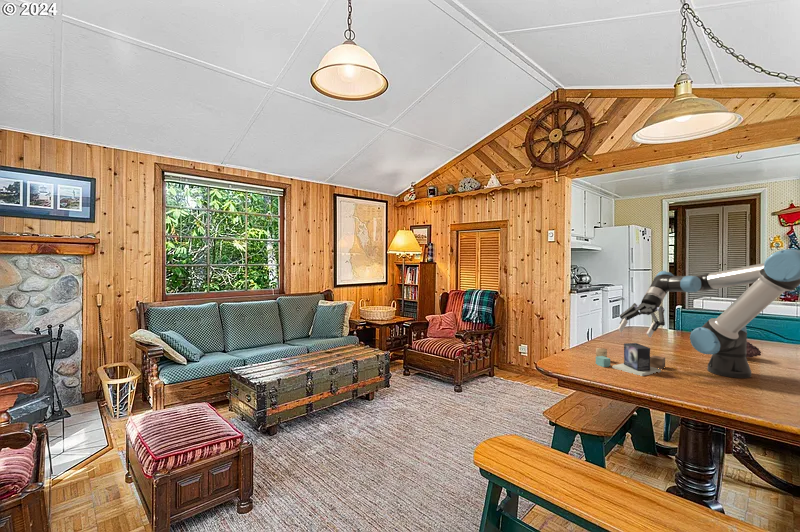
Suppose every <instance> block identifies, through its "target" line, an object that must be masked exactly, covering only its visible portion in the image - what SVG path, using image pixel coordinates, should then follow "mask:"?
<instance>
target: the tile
mask: <svg viewBox="0 0 800 532" xmlns="http://www.w3.org/2000/svg"><path fill="white" fill-rule="evenodd" d="M611 367H612V369H615V370H618V371H621V370H622V371H621V372H626V373H629V374H632V373H633V375H635V376H639V375H640V376H639V377H644V376H649V375H654V374H657V373H656V372H658V373H661V372H662V370H661V369H658V368H654V367H650V371H637V370H635V369H633V368H631V367H629V366H626V365H624V362H622V363H619V364H614V365H612V366H611ZM653 373H654V374H653Z"/></svg>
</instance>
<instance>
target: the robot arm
mask: <svg viewBox="0 0 800 532" xmlns="http://www.w3.org/2000/svg"><path fill="white" fill-rule="evenodd" d="M749 284H751V285H750V286H749V287H748V288H747V289H746V290H745V291H743V293H742V294H741V295H740V296H739V297H737V298H736V299H735V300H734V302H733V303H731V305H729V306H728V307H727V308H726V309H724V311H723V312H722V313H721V314H720V315H718V316H717V318H712V317H711V318H710V319H708V321H706V322H705V323H704V324H703V325H702V326H700V327H696V328H694V329H693V330H691V332H690V335H689V341H690V344H691V346H692V347H693V348H694V349H695V350H696V351H697V352H699V353H701V354H704V355H711V357H710V359H709V362H708V363H707V367H706V368H707V369H706V370H707V372H709V373H712V374H715V375H718V376H722V377H728V378H734V379H735V378H737V379H749V378H751V377H752V370H751V366H750V364H749V362H748V359H747V357H746V346H747V342H748V341H747V340H748V339H747V338H748V332H747V331H748V330H747V325H748V324H749V323H750V322H751V321H752V320H754V319H755V318H756V317H757V316H758V315H759V314H760V313H762V311H764V310H765V309H766V308H767V307H768V306H769V305H770V304H771V303H773V302H774V301H775V300H776V299H778V297H780V295H782V294H783V293H784V292H791V291H792V292H793V291H794V290H795V289H797V287H799V286H800V249H794V248H789V249H788V248H787V249H786V248H785V249H781V250H778V251H775V252H773V253H772V254H770V255H769V256H767V258H766V259H765V261H764V262H763V263H756V264H752V265H747V266H743V267H736V268H731V269H725V270H720V271H716V272H715V271H714V272H710V273H709V272H708V273H704V274H699V275H697V274H695V275H674V273H672V272H670V271H666V270H661V271H659V272H658V273H657V274H656V276H654V278H653V281H651V284H650V286H649V287H648V289H647V290H646V292H645V294H644V296H643V297H642V299H641V302H640V304H637V303H636V302H634V303H633V304H632V305H631V306H630V307H629V308H628V309H626V310H625V311H623V312H622V313H621V314H619V318H620V319H621V320H620V322H619V326H618V327H617V329H618V331H619V333H623V331H624V329H626V328H625V327H626V326H627V324H628V323H629V322H628V321H629V320H631V319H633V318H634V317H635V318H636V317H637V316H640V315H647V316H650V315H651V317H652V319H653V322H652V323H651V325H650V326H649V328H648V330H647V331H646V333H645V334H646V336H648V338H652V336H653V335H654V332H657V330H658V328H659V327H661V326H662V327H663V326H665V325H666V322H665V314H664V313H665V308H664V307H663V306H662V302H663V301H664V299H665V297H666V295H667V294H668V292H676V293H677V292H678V293H697V292H707V291H711V290H715V289H716V290H717V289H723V288H729V287H736V286H743V285H749ZM656 312H658V318H659V319H658V318H657V316H656V314H655V313H656Z"/></svg>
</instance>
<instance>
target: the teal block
mask: <svg viewBox="0 0 800 532" xmlns="http://www.w3.org/2000/svg"><path fill="white" fill-rule="evenodd" d="M596 364H597V365H596ZM595 365H596V366H598V367H601V368H608V367H609V366H610V367H611V358H610V357H608V356H607V357H604V356H597V357H596V356H595Z"/></svg>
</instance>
